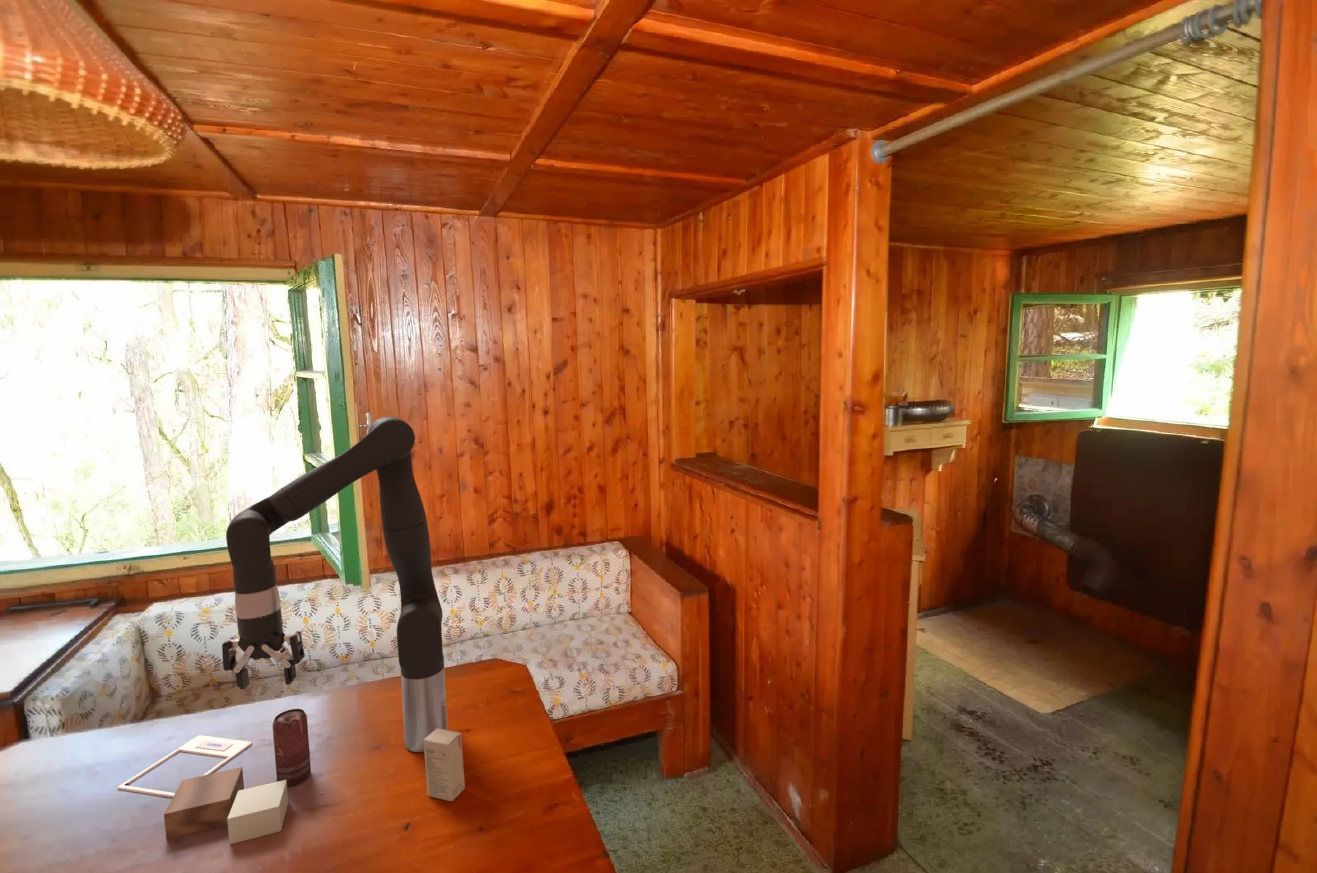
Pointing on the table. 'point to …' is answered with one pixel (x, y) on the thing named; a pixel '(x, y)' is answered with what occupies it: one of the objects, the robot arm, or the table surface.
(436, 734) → the skincare box
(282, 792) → the cream block
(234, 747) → the photo frame
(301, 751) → the can
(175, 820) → the walnut block
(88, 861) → the table surface
